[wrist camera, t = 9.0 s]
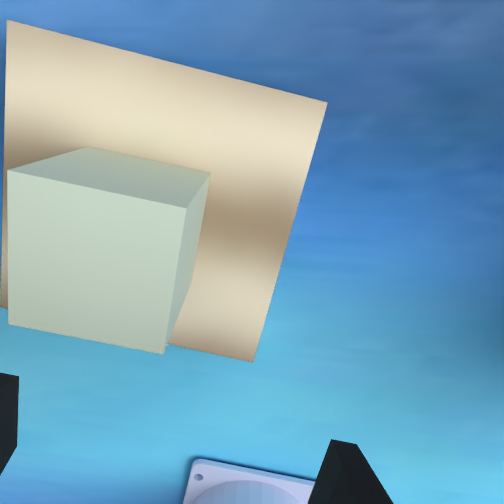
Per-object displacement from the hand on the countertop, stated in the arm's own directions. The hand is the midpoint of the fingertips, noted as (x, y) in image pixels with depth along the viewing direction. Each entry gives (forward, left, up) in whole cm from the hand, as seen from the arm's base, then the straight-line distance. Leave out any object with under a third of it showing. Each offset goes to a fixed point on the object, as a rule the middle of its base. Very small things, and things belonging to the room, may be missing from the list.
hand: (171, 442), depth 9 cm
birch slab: (+3, +3, -11) cm, 12 cm away
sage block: (+3, +3, -8) cm, 9 cm away
